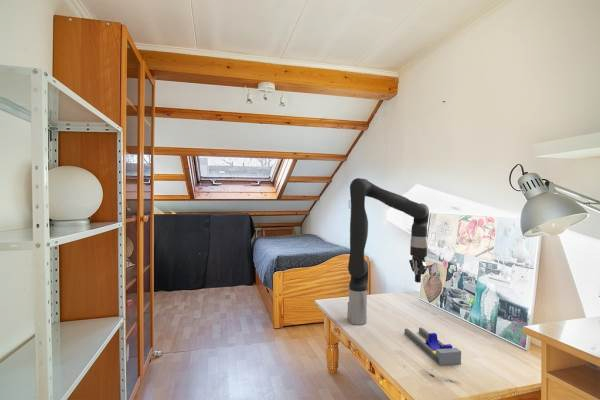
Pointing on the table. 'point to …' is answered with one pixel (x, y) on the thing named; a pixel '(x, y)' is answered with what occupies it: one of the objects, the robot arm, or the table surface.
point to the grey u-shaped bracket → (440, 355)
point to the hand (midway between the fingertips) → (417, 282)
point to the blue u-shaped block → (435, 342)
